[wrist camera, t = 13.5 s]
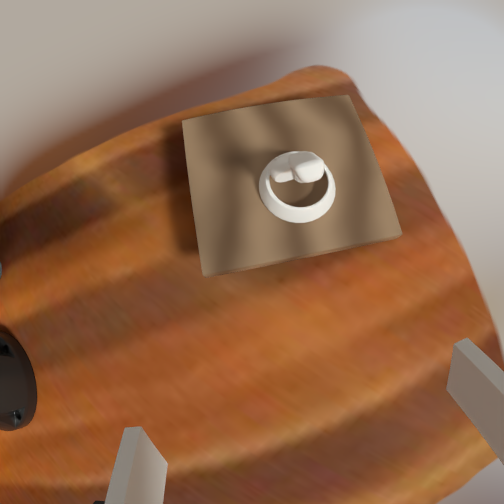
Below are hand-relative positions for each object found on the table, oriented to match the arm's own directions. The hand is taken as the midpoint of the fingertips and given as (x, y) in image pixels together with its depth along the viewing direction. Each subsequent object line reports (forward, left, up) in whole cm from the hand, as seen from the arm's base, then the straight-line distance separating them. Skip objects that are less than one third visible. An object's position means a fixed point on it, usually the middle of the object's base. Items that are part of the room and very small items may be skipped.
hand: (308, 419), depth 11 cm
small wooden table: (+4, +19, -23) cm, 30 cm away
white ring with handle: (+5, +17, -17) cm, 24 cm away
